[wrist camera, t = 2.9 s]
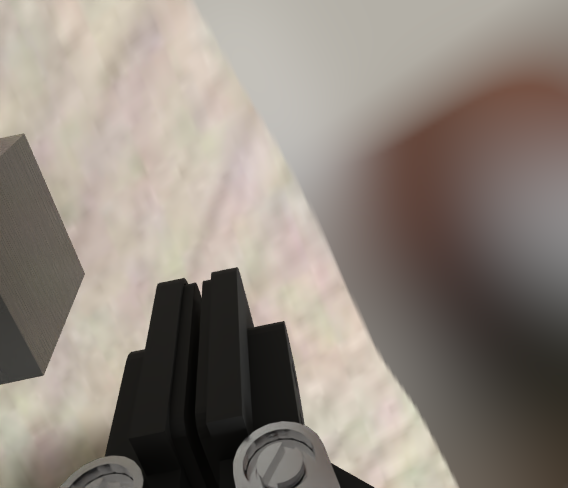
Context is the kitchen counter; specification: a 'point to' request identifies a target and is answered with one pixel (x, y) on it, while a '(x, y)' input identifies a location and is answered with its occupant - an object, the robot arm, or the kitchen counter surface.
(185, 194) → the kitchen counter surface
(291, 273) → the kitchen counter surface
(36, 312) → the shaft
